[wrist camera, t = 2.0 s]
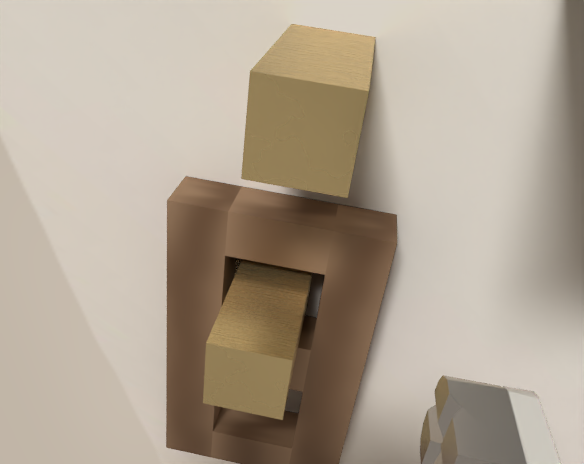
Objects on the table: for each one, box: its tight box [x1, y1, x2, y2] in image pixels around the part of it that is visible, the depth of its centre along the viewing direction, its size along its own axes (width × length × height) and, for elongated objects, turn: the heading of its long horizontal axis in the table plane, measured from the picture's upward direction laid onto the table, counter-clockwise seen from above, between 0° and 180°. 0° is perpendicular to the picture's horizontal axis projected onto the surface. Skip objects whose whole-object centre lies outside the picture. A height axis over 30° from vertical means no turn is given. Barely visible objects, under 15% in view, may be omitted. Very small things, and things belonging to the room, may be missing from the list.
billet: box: [241, 24, 375, 198], centre depth 23 cm, size 4×4×9 cm
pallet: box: [166, 176, 397, 464], centre depth 34 cm, size 12×20×3 cm, turn 173°
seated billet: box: [203, 259, 313, 420], centre depth 29 cm, size 4×4×9 cm
